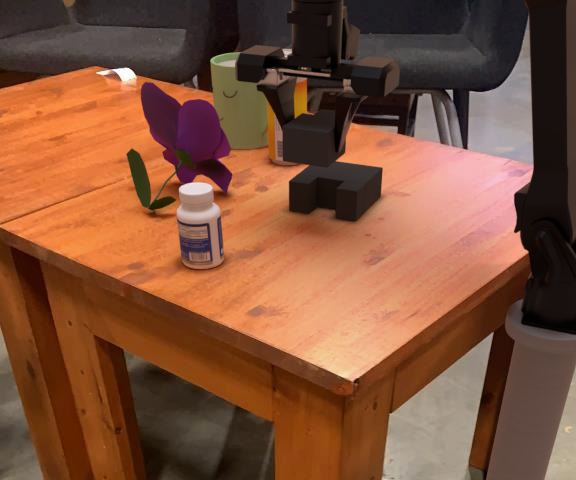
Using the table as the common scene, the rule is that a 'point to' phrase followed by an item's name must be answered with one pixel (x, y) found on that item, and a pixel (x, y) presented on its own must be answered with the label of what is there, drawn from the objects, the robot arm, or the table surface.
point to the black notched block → (336, 189)
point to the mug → (238, 105)
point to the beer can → (273, 125)
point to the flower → (181, 143)
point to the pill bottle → (199, 227)
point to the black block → (311, 139)
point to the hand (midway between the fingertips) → (314, 148)
